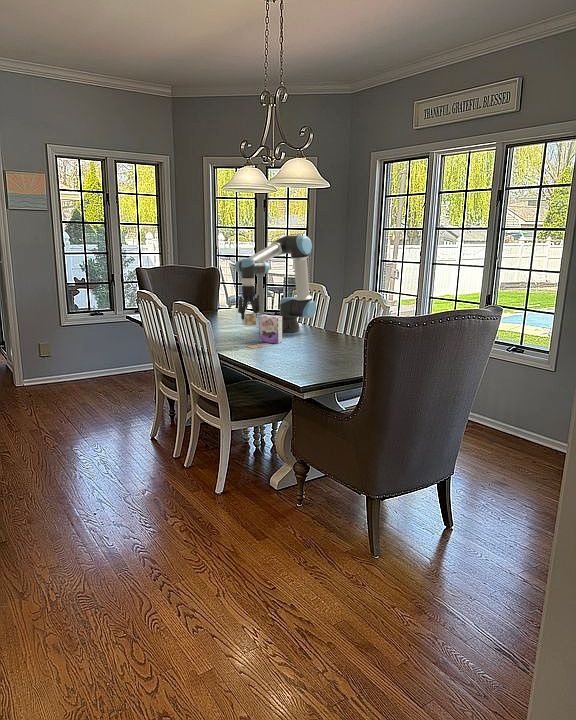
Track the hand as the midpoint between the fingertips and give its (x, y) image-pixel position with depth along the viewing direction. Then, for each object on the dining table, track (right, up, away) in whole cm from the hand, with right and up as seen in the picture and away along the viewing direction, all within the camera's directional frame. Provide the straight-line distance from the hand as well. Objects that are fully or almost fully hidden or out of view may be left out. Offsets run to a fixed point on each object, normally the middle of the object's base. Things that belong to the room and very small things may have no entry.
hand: (249, 324), depth 316 cm
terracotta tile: (+3, -14, 0) cm, 14 cm away
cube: (0, 0, 0) cm, 0 cm away
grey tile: (+9, -12, +5) cm, 16 cm away
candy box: (+12, -10, +14) cm, 22 cm away
